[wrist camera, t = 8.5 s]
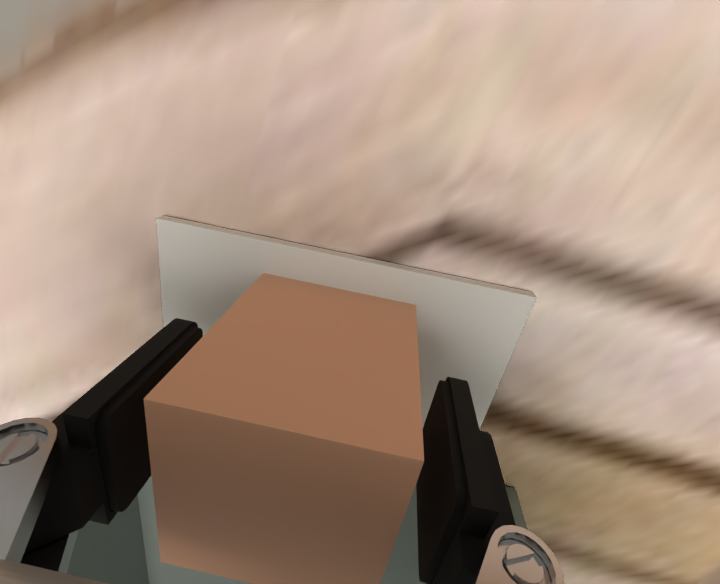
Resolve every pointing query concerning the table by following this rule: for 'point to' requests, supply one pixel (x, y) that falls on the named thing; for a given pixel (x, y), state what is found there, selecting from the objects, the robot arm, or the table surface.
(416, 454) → the terracotta block
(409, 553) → the open crate
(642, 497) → the table surface
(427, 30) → the table surface
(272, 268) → the mat
